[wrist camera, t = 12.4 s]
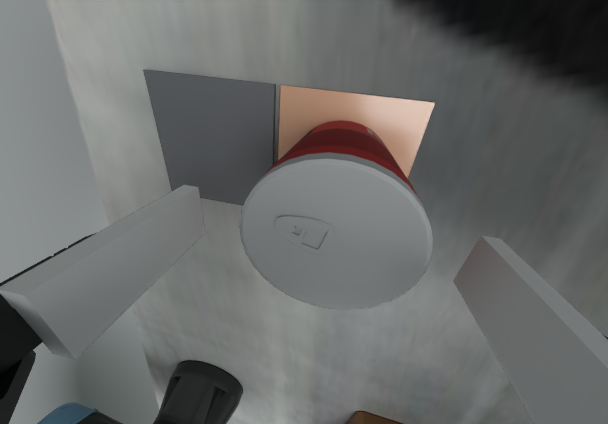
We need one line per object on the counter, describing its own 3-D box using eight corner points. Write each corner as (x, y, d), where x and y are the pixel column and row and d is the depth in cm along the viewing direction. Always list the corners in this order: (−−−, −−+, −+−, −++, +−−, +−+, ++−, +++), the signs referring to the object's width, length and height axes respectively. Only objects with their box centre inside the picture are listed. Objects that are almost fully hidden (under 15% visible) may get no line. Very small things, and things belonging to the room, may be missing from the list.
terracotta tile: (387, 229, 21) (388, 231, 20) (277, 209, 22) (276, 211, 22) (432, 102, 15) (434, 102, 15) (282, 85, 16) (280, 85, 16)
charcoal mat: (272, 208, 22) (271, 210, 22) (174, 191, 23) (172, 192, 23) (275, 84, 16) (274, 84, 16) (147, 69, 18) (143, 69, 17)
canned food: (296, 113, 17) (227, 144, 7) (402, 124, 16) (478, 174, 6) (292, 200, 21) (243, 292, 11) (377, 213, 20) (401, 326, 10)
